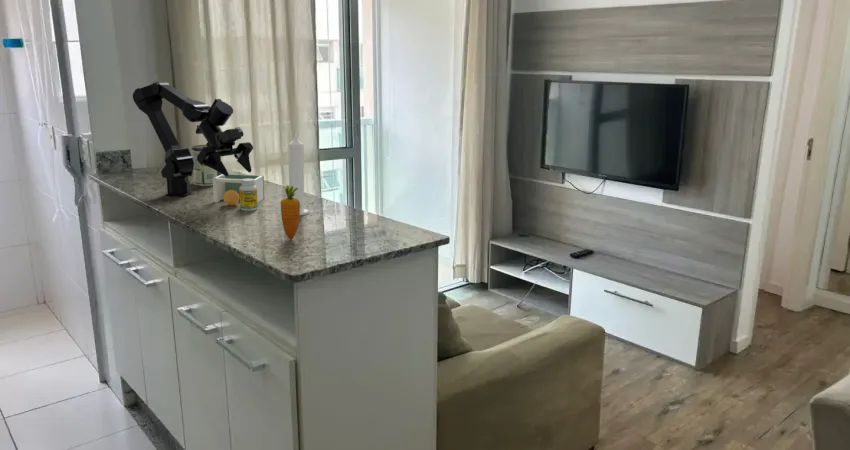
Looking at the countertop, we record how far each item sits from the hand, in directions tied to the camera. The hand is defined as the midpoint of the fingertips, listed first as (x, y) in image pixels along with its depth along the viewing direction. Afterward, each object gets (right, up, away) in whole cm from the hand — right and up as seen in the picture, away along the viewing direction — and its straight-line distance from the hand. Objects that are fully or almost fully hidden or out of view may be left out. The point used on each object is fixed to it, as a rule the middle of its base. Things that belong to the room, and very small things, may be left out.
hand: (239, 173), depth 198 cm
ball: (-4, -8, +4) cm, 9 cm away
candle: (+19, -13, -2) cm, 23 cm away
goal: (-4, -8, +12) cm, 15 cm away
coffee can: (-23, -1, +38) cm, 44 cm away
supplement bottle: (+3, -12, +1) cm, 12 cm away
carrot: (+23, -21, -31) cm, 44 cm away
